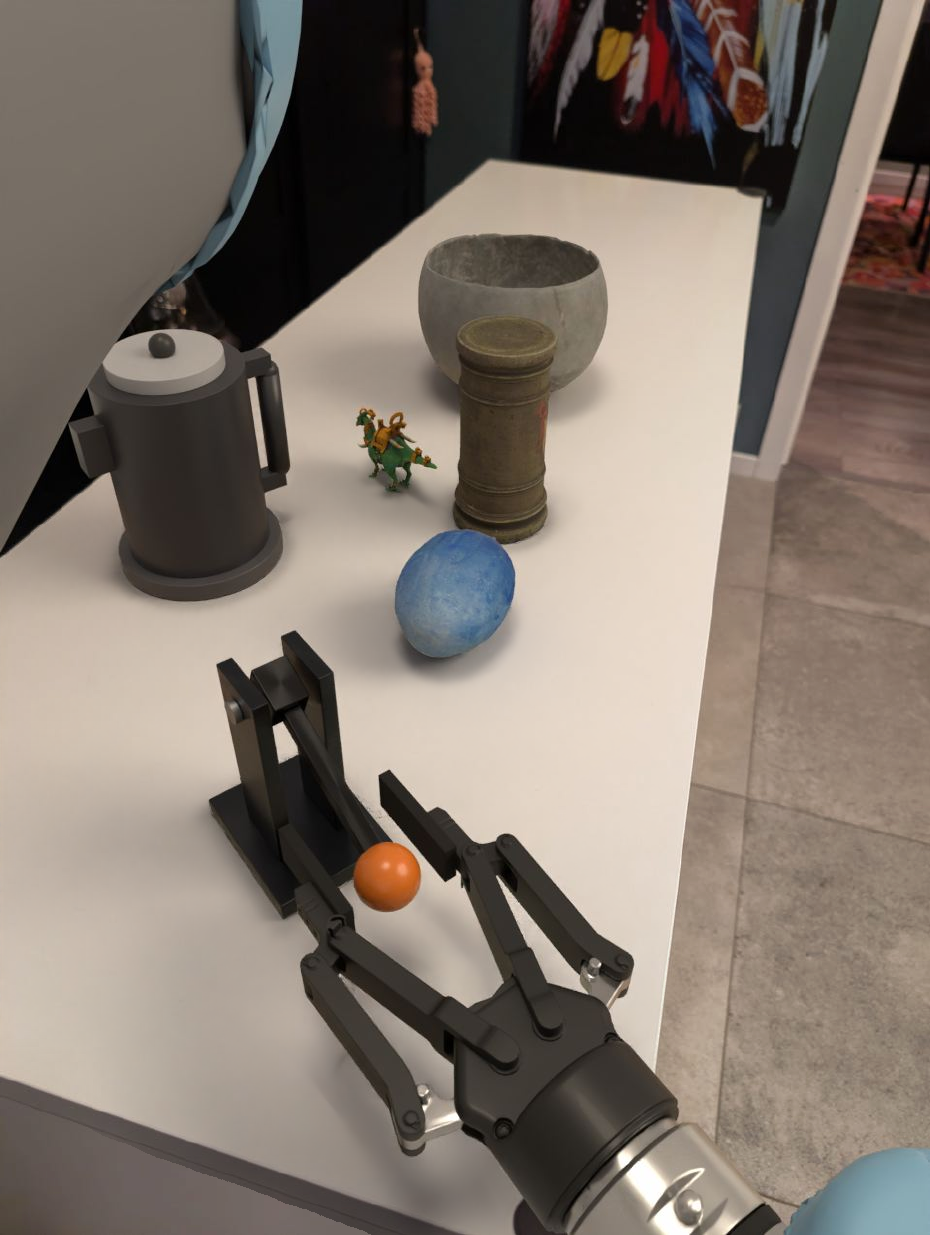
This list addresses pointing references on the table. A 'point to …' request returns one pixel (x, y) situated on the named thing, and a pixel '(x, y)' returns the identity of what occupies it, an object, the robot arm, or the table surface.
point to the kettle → (188, 460)
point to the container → (503, 425)
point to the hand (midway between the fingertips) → (337, 814)
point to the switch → (340, 795)
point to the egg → (454, 592)
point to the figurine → (390, 447)
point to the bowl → (514, 295)
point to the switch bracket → (283, 780)
